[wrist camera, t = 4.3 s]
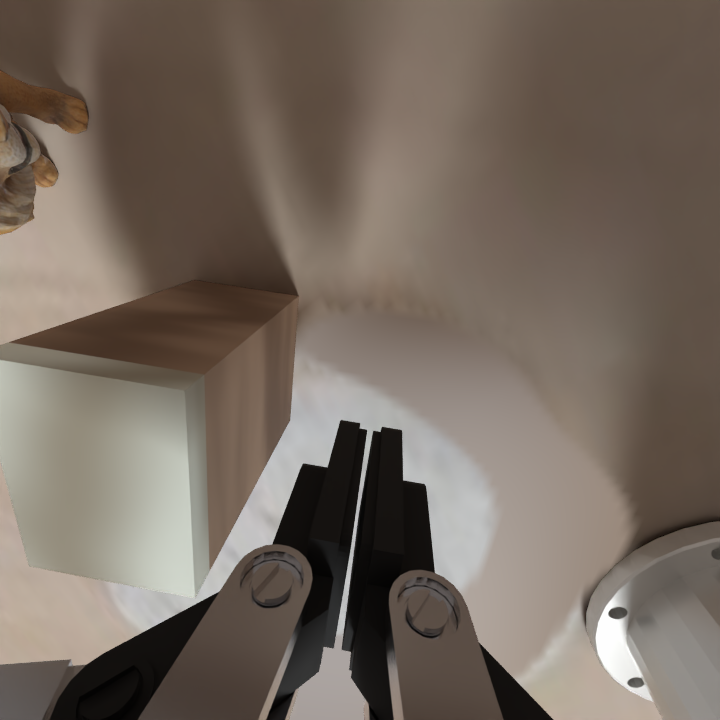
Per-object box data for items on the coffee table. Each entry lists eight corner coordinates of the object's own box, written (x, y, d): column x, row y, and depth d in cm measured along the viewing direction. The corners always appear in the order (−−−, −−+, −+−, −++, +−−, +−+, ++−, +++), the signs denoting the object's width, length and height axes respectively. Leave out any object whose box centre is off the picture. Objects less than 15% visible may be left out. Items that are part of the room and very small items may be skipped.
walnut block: (298, 296, 16) (184, 390, 8) (290, 420, 18) (194, 598, 10) (194, 279, 16) (-29, 355, 8) (198, 404, 18) (29, 566, 10)
